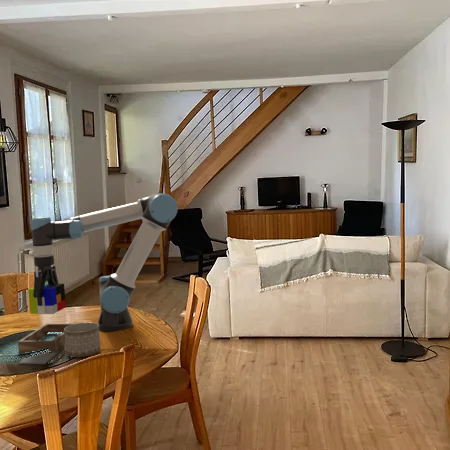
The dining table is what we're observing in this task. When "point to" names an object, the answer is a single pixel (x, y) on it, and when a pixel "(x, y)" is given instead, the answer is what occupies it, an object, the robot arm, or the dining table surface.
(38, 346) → the pocket frame
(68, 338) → the planter
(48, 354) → the mat
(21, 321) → the dining table surface
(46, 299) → the puzzle toy
